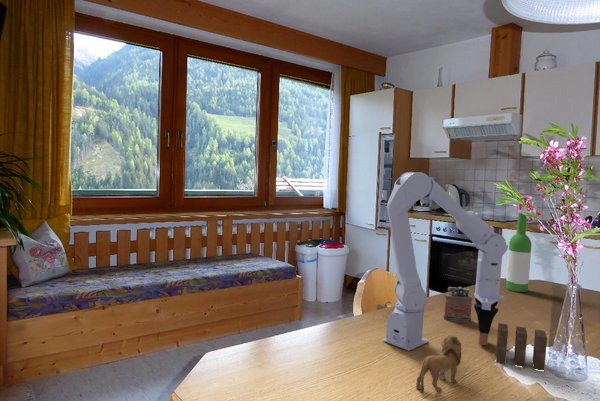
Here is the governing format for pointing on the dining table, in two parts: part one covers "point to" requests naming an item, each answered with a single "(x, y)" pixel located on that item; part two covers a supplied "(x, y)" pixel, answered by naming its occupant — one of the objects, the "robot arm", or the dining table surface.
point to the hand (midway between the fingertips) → (484, 329)
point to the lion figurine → (441, 363)
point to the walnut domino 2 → (520, 346)
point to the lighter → (458, 305)
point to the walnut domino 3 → (539, 349)
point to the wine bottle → (519, 258)
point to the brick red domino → (483, 338)
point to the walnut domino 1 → (501, 343)
